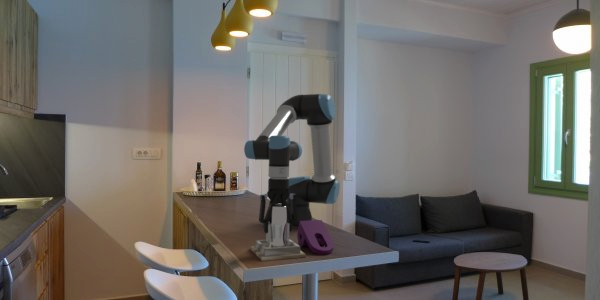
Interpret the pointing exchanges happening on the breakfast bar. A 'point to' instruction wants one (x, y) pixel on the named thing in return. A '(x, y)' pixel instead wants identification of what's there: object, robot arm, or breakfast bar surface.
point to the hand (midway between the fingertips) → (277, 240)
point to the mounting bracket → (315, 236)
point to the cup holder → (277, 251)
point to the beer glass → (278, 225)
